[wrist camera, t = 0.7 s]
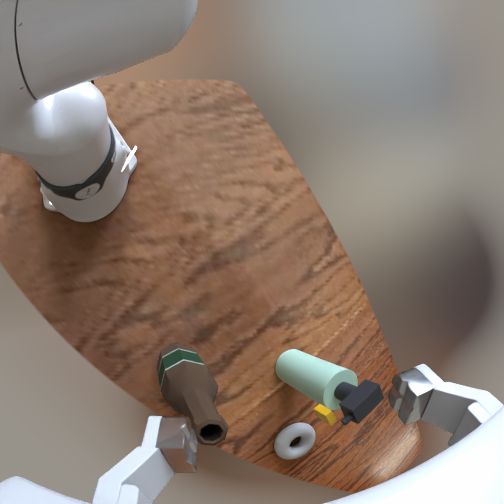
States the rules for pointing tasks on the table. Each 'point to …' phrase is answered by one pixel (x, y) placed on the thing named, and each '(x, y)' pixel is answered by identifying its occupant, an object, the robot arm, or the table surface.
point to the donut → (291, 433)
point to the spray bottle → (329, 384)
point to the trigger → (325, 414)
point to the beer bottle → (191, 392)
